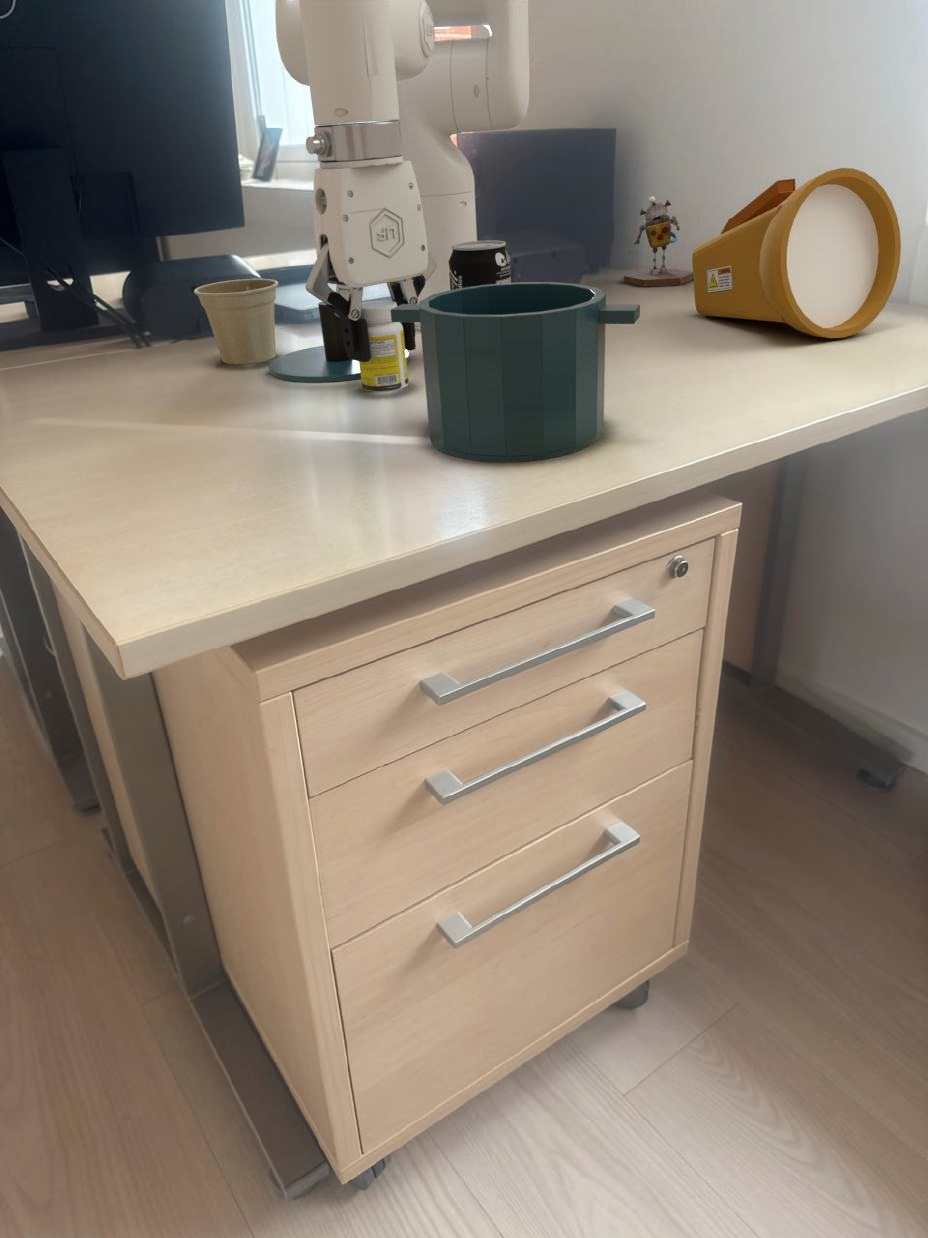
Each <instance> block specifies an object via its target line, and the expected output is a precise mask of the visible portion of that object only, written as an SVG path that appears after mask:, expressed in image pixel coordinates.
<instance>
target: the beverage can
mask: <svg viewBox="0 0 928 1238" xmlns="http://www.w3.org/2000/svg"><path fill="white" fill-rule="evenodd" d="M506 245H507V243H506V241H504V240H498V239H497V240H495V239H493V240H491V239H487V240H484V239H483V240H477V241H469V242H462V243H457V244H454V245H452V249H453V251H452V254H451V257H450V259H449V276H450V290H453V289H459V288H466V287H473V286H480V285H488V284H502V283H512V272H511V269H512V268H511V256H510V254H509V253H508V251H507V248H506Z"/></svg>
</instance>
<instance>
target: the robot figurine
mask: <svg viewBox="0 0 928 1238" xmlns="http://www.w3.org/2000/svg"><path fill="white" fill-rule="evenodd" d="M648 203H649V204H650V205H649V206H648V207H647V208H646V211H645V210H644V209H642V208H640V211H639V217H641V216H642V215H644V216H645V217H644V220H643V224H641V225H640V226H639V230H638V231H639V232H638V234H637V237H636V239H634V240H633V245H634V246H635V245H640V243H641V238H642V234H643V231H644V233H645V237H646V240H647V242H648V245H649V247H650V248H651V249H652V252H653V255H654V256H653V259H652V262H653V268H652V269H642V270H640V269H639V270H636V271H633V272H630V273H628V274H625V275H623V283H624V284H629V285H633V286H638V287H643V288H644V287H645V288H646V287H664V286H665V287H666V286H669V287H670V286H681V285H683V284H686V283H688V282H691V281H694V278H693V271H689V270H683V269H677V268H666V265H665V260H666V256H665V251H666V250H667V247H668V246H669V245H670V244H675V243H676V242H678V239H679V238H678V235H677V234H676V233H675V232H674V231H672V225H674V226H675V227H676V231H677V232H678V231H680V230H681V227H680V226H679V225H680V224H679V222H678V219H677V217H676V216H675V215H672V216H670V215H668V213H669V211H668V208H667V207H669V206H672V204H671V202H670V201H669V200H668V199H666V201H665V204H663V203H662V202H656V197H655V196H654V195H652V196H649V198H648ZM671 238H672V239H671ZM658 248H661V250H662V255H661V260H662V261H661V263H662V264H661V267H660V268H657V263H656V262H657V258H656V254H657V252H658V250H659V249H658Z"/></svg>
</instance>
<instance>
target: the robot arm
mask: <svg viewBox="0 0 928 1238" xmlns="http://www.w3.org/2000/svg"><path fill="white" fill-rule="evenodd" d="M274 13H275V15H274V16H275V34H276V35H275V37H276V43H277V50H278V52H279V57H280V59H281V62H282V64H283V67H284V69H285V71H287V73H288V75H289V76H290V78H292V79H293V80H295V81H296V82H297V83H299V84H301V85H304V86H307V87H309V92H310V99H311V107H312V114H313V115H312V116H313V123H314V128H313V133H314V135H313V136H307V138H306V139H305V148H306V151H307V153H308V154H310V155H317V161H318V162H319V167H318V168H314V175H313V176H314V177H313V192H312V193H313V194H312V195H313V198H312V200H313V208H312V209H313V211H312V212H313V229H314V241H315V243H314V244H315V251H316V253H315V254H316V260H315V262H314V265H313V266H312V269H311V272H310V274H309V276H308V278H307V280H306V283H305V286H304V287H305V290H306V292H307V293H309V294H310V295H312V296H314V297H315V298H316V299H318V300H319V301H320V302H323V303H324V304H325V305H327V306H328V307H329V308H330V309H331V310H332V311H333V312H334V313H335V315H336V316H337V317H339V318H341V324H342V332H343V340H344V347H345V350H346V352H347V356H348V358H349V359H352V360H356V361H360V362H368V361H369V360H370V359H371V355H370V346H369V337H368V328H367V322H366V320H365V319H362V318H361V317H360V315H361V306H362V303H363V295H364V288H367V287H373V286H377V285H381V284H386V285H387V290H388V292H389V295H390V298H391V301H394V302H396V303H397V306H399V305H401V304H419V301H421V300H423V299H425V298H427V297H429V296H431V295H433V294H437V293H441V292H445V291H449V290H450V276H449V259H450V257H451V254H452V251H453V249H452V245H454V244H457V243H462V242H469V241H478V231H477V211H476V192H475V191H476V190H475V189H476V186H475V176H474V172H473V169H472V166H471V163H470V162H469V160H468V159H467V158H466V156H465V155H464V154H463V152H462V151H461V150H460V149H459V148H458V146H457V145H456V143H455V142H454V141H453V140H452V137H451V136H453V135H458V134H463V133H475V132H489V131H490V132H492V131H501V130H509V129H513V128H516V127H517V126H520V124H521V123H522V122H523V121H525V118H526V116H527V113H528V109H529V104H530V103H529V102H530V34H529V33H530V32H529V29H530V28H529V27H530V26H529V0H275V12H274ZM470 26H483V27H486V29H488V31H489V36H483V37H472V38H459V39H455V38H454V39H442V40H441V39H440V40H436V29H448V28H459V27H460V28H461V27H470ZM329 284H331V285H335V290H334V289H333V288H331V287H330V286H329ZM400 323H401V324H402V326H403V330H404V342H405V350H407V351H408V352H411V351H414V350H416V348H417V347H416V346H417V345H416V327H418V328H421V324H420V322H400Z"/></svg>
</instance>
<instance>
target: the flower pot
mask: <svg viewBox="0 0 928 1238" xmlns="http://www.w3.org/2000/svg"><path fill="white" fill-rule="evenodd" d="M278 286H279V281H278V280H276V279H271V278H244V279H243V278H242V279H232V280H224V281H218V282H213V283H208V284H204V285H201V286H198V287H196V288H195V289H194V290H193V293H194V295H196V296H198V299H199V302H200V304H201V306H202V307H203V308H204V311H205V313H206V316H207V319H208V322H209V326H210V328H211V331H212V334H213V337H214V340H215V342H216V345H217V346H216V347H217V348H218V352H219V355H220V358H221V361H222V362H223V363H224V364H228V365H247V364H256V363H261V362H265V361H269V360H271V359H275V357H276V356H277V350H276V347H277V345H276V325H275V324H276V321H275V300H276V299H277V287H278Z"/></svg>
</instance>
